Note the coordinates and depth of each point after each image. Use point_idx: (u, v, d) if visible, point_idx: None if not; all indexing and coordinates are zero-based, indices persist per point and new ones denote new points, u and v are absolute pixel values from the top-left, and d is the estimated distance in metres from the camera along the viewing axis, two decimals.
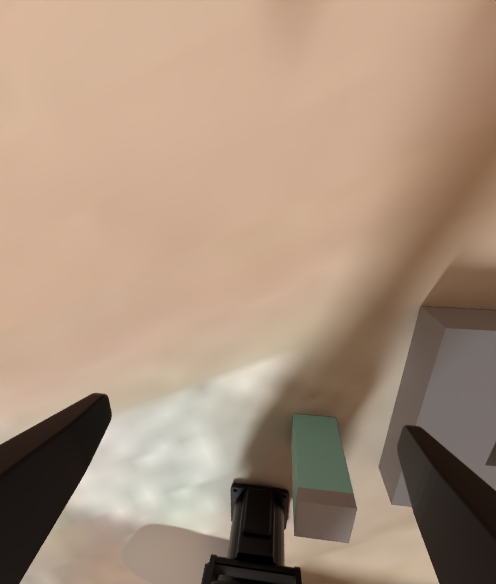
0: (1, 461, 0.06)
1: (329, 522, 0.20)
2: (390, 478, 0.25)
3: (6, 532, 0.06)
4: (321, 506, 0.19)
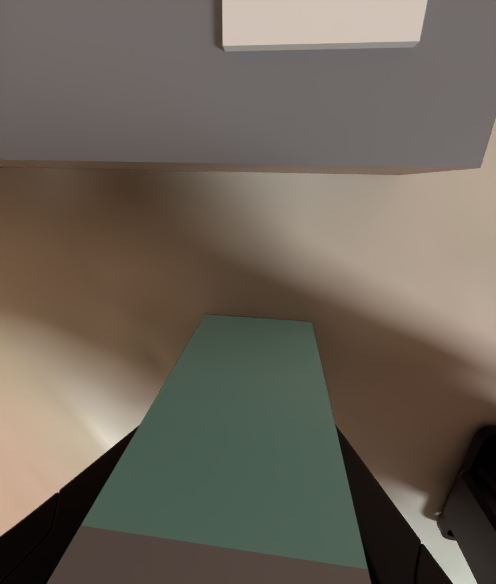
0: (109, 475, 0.06)
1: None
2: (357, 169, 0.06)
3: None
4: None
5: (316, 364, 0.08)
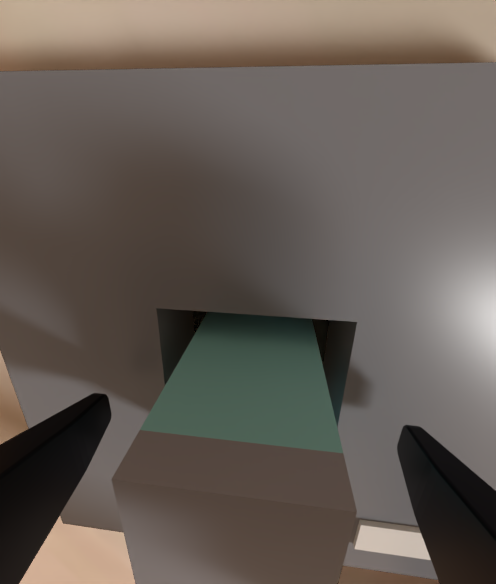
0: (1, 461, 0.06)
1: (219, 553, 0.05)
2: None
3: (6, 532, 0.06)
4: (142, 560, 0.05)
5: (311, 334, 0.09)
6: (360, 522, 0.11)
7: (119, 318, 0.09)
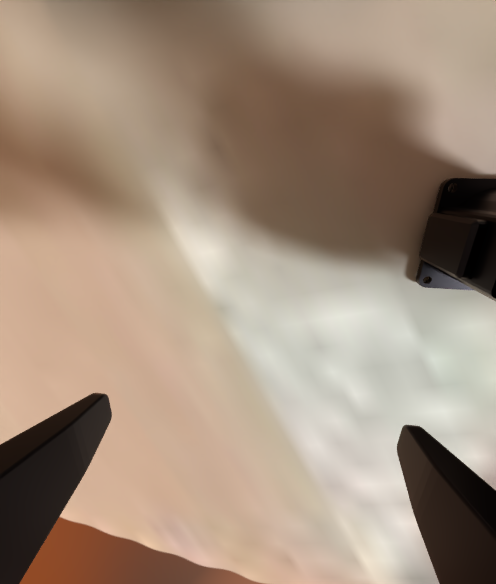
0: (1, 461, 0.06)
1: None
2: None
3: (6, 532, 0.06)
4: None
5: None
6: None
7: None
